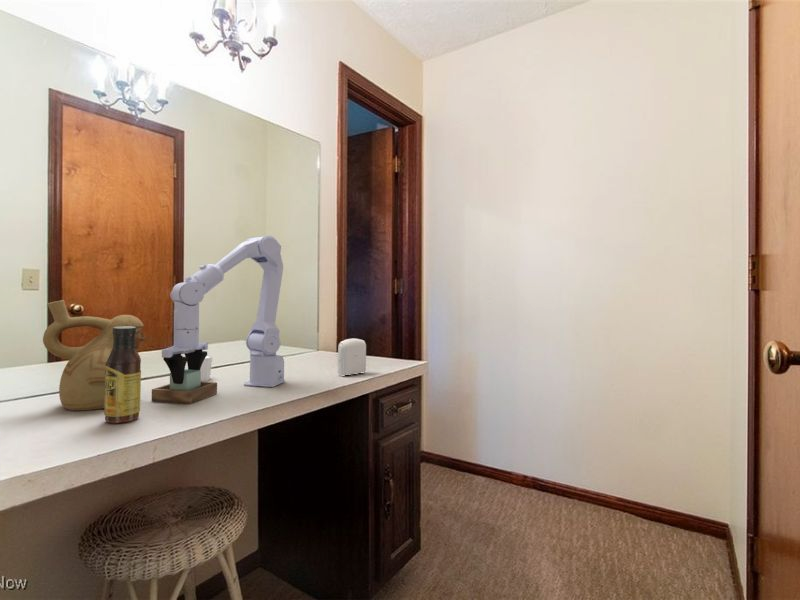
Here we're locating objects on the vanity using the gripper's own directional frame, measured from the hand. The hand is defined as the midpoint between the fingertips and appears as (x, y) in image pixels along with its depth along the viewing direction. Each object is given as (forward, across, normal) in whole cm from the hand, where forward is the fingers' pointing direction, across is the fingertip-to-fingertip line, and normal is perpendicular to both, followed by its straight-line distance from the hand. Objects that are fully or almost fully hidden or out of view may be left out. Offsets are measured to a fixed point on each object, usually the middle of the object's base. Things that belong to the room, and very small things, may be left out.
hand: (185, 381), depth 102 cm
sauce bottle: (+4, -19, 0) cm, 20 cm away
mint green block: (+2, 0, 0) cm, 2 cm away
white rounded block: (+4, +19, +10) cm, 22 cm away
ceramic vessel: (+4, -10, +16) cm, 19 cm away
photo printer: (+4, +39, -33) cm, 51 cm away
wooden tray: (+4, 0, 0) cm, 4 cm away
